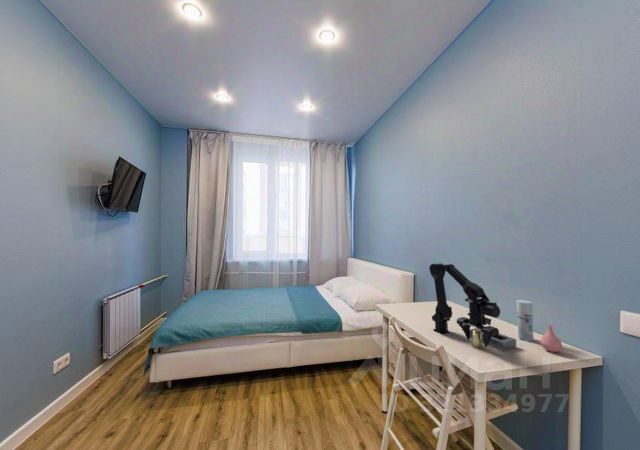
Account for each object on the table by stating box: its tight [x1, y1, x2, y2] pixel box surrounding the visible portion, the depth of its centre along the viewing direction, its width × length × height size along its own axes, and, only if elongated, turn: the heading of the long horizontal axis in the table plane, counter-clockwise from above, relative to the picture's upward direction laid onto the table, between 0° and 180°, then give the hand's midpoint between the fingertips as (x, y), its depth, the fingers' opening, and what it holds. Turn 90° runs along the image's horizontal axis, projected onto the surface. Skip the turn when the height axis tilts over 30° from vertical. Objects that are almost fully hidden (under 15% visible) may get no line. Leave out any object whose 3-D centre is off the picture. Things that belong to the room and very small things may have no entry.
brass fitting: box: [471, 330, 483, 350], centre depth 125 cm, size 4×4×8 cm
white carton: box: [516, 299, 534, 343], centre depth 133 cm, size 6×6×20 cm
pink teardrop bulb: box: [540, 324, 563, 353], centre depth 119 cm, size 8×8×12 cm
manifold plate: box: [470, 327, 517, 352], centre depth 130 cm, size 10×18×4 cm, turn 22°
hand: (477, 342), depth 125 cm, fingers open, 9 cm apart
